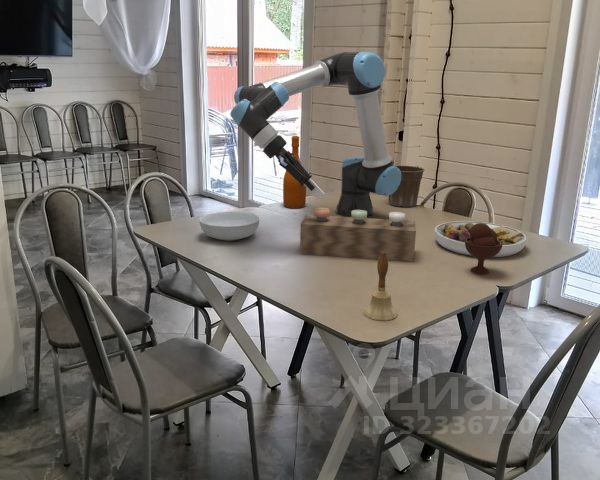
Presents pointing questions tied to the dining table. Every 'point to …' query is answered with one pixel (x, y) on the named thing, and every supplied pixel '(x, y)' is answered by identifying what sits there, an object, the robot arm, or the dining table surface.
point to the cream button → (396, 218)
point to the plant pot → (407, 187)
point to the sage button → (359, 216)
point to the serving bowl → (229, 225)
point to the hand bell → (381, 296)
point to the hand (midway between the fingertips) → (321, 196)
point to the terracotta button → (322, 214)
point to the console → (358, 238)
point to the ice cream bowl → (482, 246)
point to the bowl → (457, 231)
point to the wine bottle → (293, 183)
